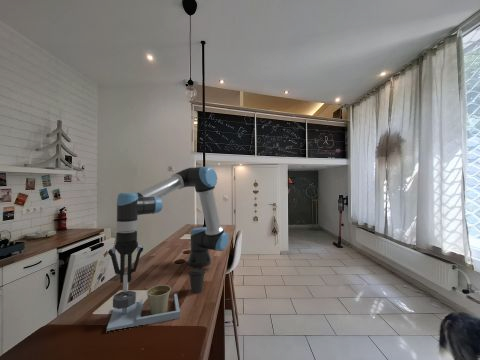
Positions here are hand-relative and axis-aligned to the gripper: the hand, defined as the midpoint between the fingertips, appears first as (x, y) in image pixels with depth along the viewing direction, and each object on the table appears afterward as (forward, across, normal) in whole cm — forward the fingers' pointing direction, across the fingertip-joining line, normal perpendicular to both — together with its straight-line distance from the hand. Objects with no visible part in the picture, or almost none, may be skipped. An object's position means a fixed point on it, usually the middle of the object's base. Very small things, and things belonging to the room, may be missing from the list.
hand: (125, 290), depth 89 cm
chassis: (+9, -8, +3) cm, 13 cm away
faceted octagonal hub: (+4, 0, +3) cm, 5 cm away
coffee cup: (+9, -30, -10) cm, 33 cm away
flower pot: (+9, -13, +3) cm, 16 cm away
